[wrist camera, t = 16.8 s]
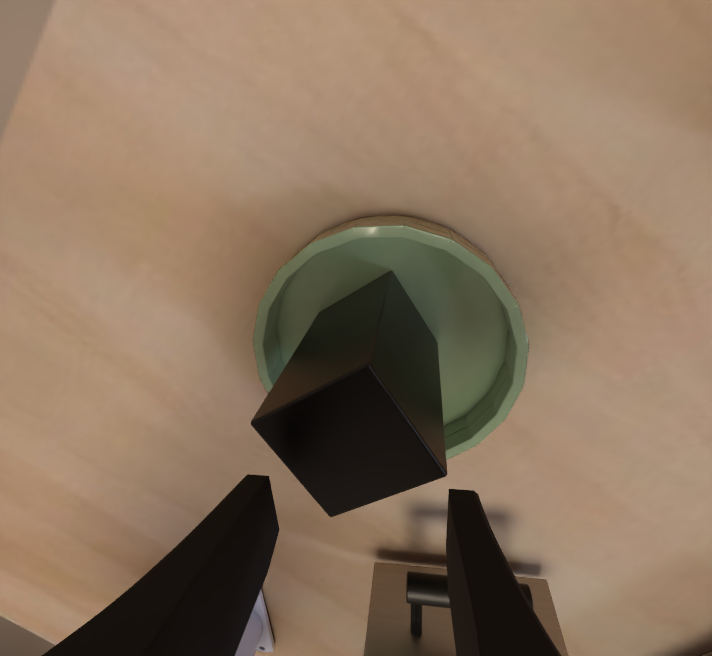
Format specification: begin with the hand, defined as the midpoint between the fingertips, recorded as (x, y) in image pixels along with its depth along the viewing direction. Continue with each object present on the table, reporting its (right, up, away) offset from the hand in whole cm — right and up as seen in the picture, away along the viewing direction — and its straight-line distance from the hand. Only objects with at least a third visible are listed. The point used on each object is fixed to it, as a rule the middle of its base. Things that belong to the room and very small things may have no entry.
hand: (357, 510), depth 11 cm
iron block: (+1, +5, +8) cm, 10 cm away
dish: (+2, +4, +9) cm, 10 cm away
